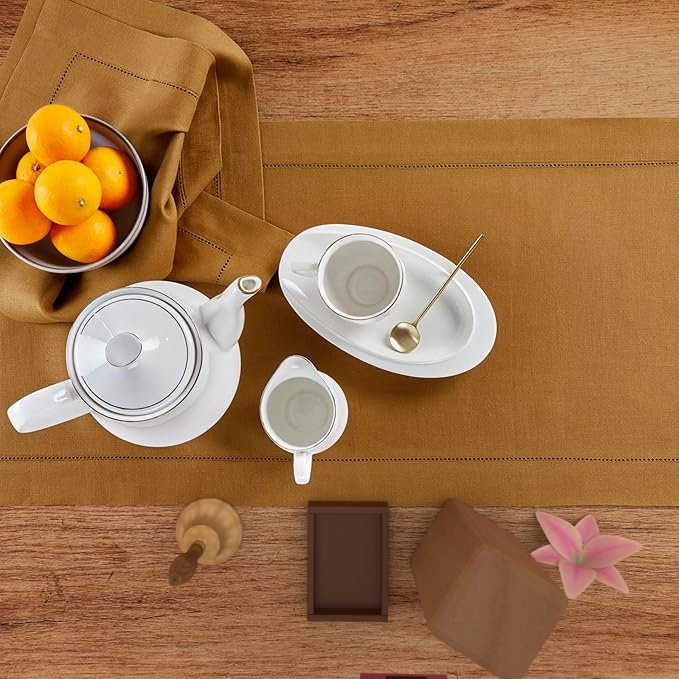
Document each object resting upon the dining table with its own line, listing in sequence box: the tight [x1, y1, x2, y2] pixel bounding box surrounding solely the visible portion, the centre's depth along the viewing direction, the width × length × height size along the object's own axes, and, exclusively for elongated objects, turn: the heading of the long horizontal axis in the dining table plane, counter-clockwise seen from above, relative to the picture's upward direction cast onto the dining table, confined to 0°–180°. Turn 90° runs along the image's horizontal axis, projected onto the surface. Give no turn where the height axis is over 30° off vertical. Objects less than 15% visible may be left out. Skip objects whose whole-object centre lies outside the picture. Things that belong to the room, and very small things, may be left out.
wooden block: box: [409, 497, 569, 679], centre depth 70 cm, size 10×10×20 cm
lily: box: [529, 510, 644, 600], centre depth 76 cm, size 12×12×10 cm
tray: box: [306, 500, 390, 623], centre depth 78 cm, size 14×10×3 cm
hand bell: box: [167, 497, 244, 587], centre depth 72 cm, size 8×8×16 cm
